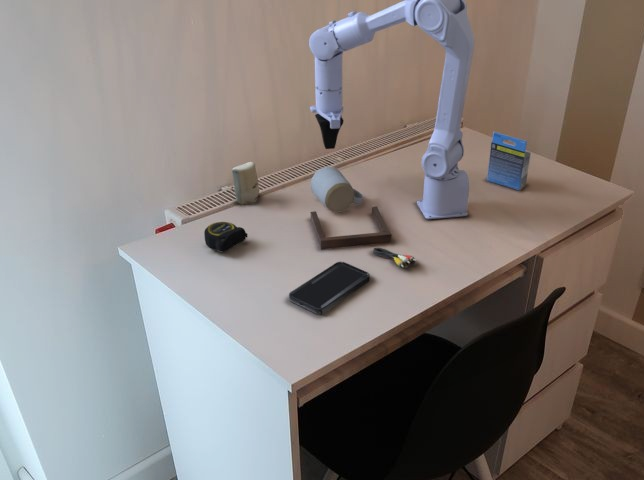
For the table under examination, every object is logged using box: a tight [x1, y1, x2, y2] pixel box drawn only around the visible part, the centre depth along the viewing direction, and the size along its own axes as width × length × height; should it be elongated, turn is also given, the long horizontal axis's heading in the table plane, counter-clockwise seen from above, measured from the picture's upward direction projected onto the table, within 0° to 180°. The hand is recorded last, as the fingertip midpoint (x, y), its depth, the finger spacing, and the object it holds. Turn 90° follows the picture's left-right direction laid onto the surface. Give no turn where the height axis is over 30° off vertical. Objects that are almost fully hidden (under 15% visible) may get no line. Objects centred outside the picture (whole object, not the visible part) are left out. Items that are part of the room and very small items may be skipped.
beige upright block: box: [231, 161, 260, 206], centre depth 155 cm, size 6×5×8 cm
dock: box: [309, 205, 392, 250], centre depth 148 cm, size 14×12×2 cm
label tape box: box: [486, 130, 532, 191], centre depth 167 cm, size 9×4×12 cm, turn 58°
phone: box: [288, 261, 371, 315], centre depth 131 cm, size 8×1×15 cm
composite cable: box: [372, 247, 417, 270], centre depth 140 cm, size 10×5×2 cm, turn 42°
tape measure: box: [203, 221, 248, 253], centre depth 141 cm, size 7×7×4 cm
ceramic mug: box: [310, 166, 364, 213], centre depth 156 cm, size 11×8×8 cm
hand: (329, 147), depth 160 cm, fingers closed
